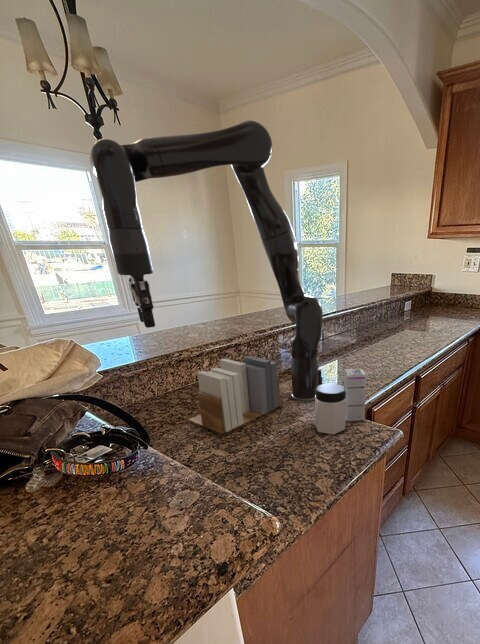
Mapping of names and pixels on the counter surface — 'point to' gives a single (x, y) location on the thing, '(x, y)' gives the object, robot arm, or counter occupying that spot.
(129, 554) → the counter surface
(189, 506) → the counter surface
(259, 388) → the grey books
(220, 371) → the white books
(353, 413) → the syrup box
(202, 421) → the book rack
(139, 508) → the counter surface
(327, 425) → the jar
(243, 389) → the thin white book
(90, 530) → the counter surface
